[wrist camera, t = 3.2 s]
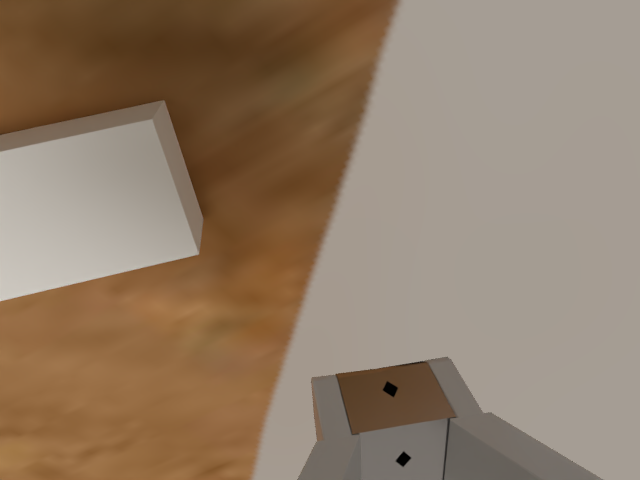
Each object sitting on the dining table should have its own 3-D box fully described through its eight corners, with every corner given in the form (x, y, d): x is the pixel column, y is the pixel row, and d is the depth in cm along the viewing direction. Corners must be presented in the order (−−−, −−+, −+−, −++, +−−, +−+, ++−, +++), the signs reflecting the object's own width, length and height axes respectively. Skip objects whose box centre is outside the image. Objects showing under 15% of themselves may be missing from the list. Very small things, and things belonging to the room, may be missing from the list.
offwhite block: (-63, 147, 21) (-122, 177, 17) (165, 98, 21) (152, 118, 18) (5, 262, 24) (-35, 309, 20) (203, 217, 24) (198, 254, 21)
